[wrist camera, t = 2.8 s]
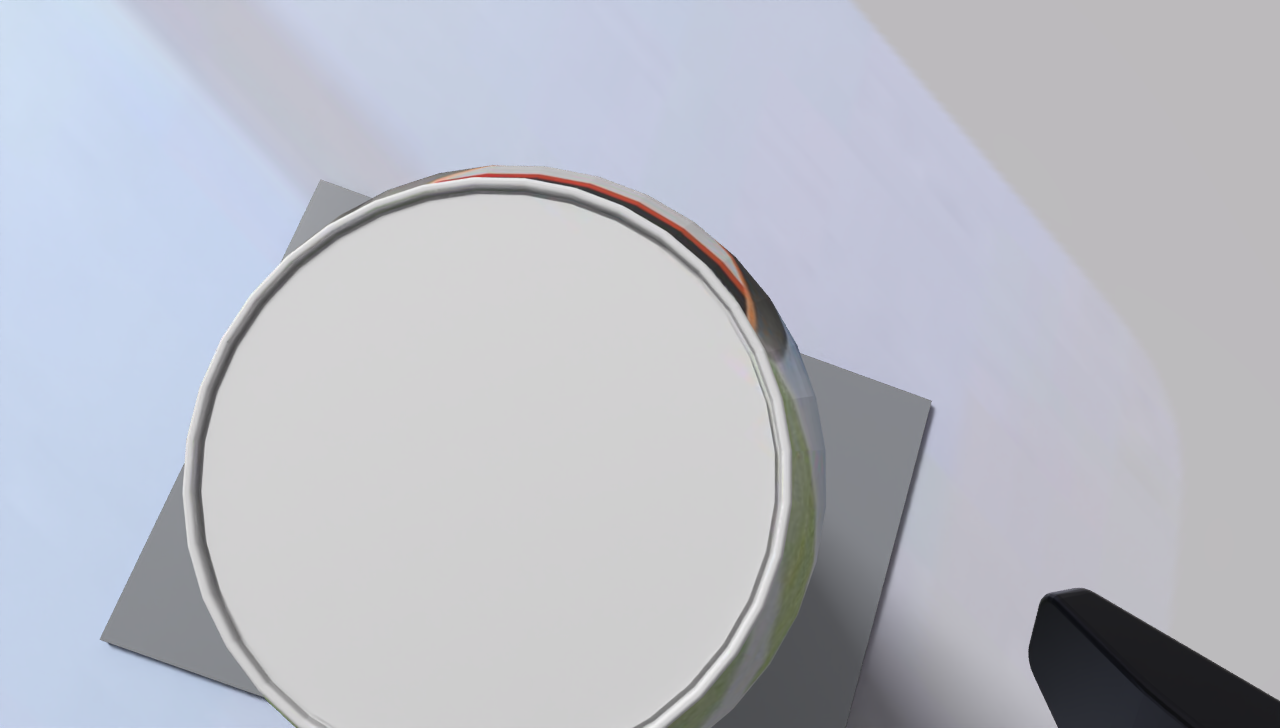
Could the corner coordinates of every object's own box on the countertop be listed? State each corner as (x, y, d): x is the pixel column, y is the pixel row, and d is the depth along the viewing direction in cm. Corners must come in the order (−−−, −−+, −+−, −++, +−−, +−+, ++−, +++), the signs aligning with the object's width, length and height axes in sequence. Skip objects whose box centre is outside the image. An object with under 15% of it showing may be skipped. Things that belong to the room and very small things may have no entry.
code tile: (929, 402, 21) (933, 400, 20) (801, 884, 18) (804, 888, 18) (322, 182, 20) (319, 177, 20) (103, 639, 18) (97, 639, 18)
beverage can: (761, 421, 20) (1071, 172, 8) (603, 759, 18) (723, 1046, 6) (495, 286, 20) (438, -143, 8) (310, 608, 18) (-89, 623, 7)
